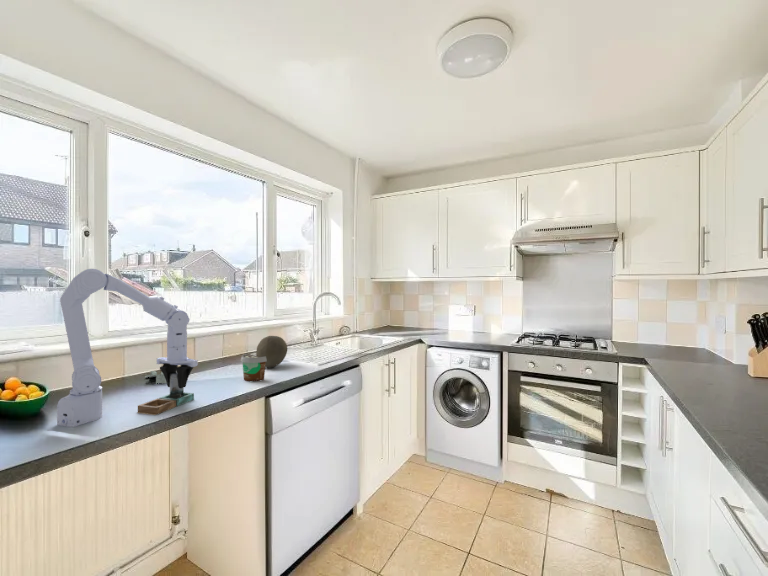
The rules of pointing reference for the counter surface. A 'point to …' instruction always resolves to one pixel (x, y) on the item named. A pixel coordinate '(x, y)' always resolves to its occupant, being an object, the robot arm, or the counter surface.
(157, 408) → the board
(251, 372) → the food container
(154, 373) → the metal bracket
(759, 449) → the counter surface
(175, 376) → the steel pin
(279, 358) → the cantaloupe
